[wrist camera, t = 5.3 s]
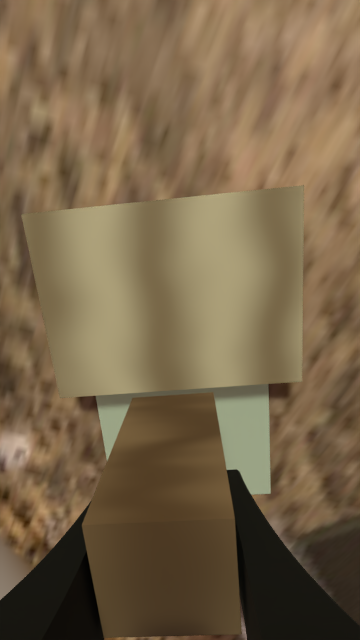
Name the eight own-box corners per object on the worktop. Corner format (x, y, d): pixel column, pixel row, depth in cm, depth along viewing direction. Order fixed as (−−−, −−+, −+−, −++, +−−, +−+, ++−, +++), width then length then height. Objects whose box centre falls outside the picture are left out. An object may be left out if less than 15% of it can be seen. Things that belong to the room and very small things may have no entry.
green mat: (266, 373, 20) (268, 376, 20) (268, 488, 23) (270, 493, 22) (96, 385, 21) (94, 388, 20) (115, 495, 23) (114, 501, 23)
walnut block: (213, 392, 14) (234, 518, 7) (218, 463, 15) (241, 634, 8) (132, 397, 15) (81, 525, 8) (142, 467, 15) (103, 637, 9)
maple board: (288, 193, 17) (303, 185, 15) (288, 365, 20) (301, 381, 18) (43, 218, 18) (21, 214, 16) (74, 380, 21) (59, 397, 18)
